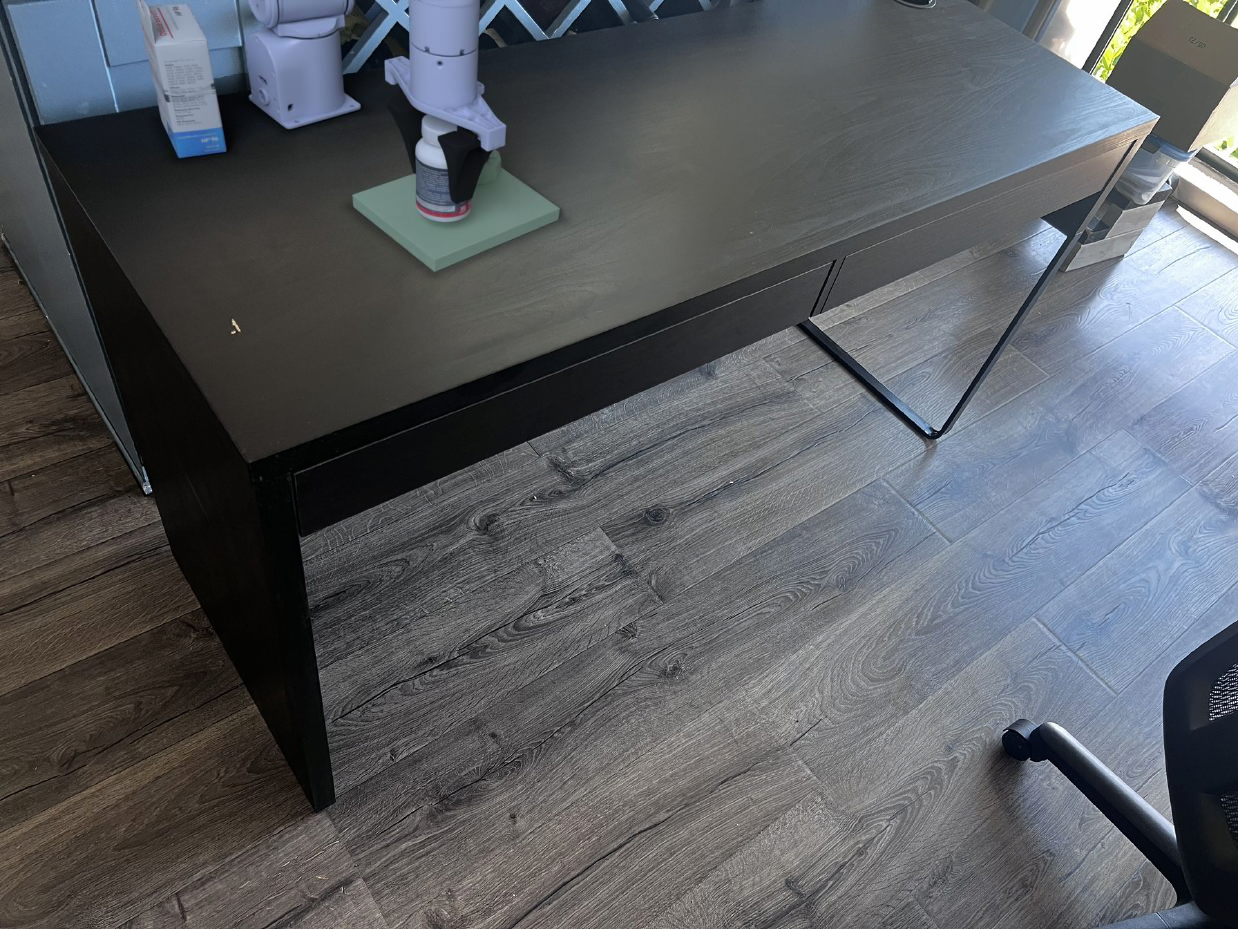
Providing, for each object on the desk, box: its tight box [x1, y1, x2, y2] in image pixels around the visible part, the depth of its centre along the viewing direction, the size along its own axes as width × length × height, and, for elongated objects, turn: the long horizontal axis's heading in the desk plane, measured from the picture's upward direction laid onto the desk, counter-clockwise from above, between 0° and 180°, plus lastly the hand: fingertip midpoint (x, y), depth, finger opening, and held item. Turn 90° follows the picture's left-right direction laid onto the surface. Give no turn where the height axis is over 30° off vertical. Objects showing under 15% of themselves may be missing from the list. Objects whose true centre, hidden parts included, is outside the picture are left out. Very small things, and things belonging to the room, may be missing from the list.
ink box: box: [135, 0, 227, 159], centre depth 93 cm, size 8×5×15 cm, turn 29°
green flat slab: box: [351, 149, 561, 273], centre depth 94 cm, size 16×14×3 cm
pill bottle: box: [415, 114, 471, 222], centre depth 88 cm, size 5×5×9 cm
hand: (442, 185), depth 89 cm, fingers closed on pill bottle, 5 cm apart
